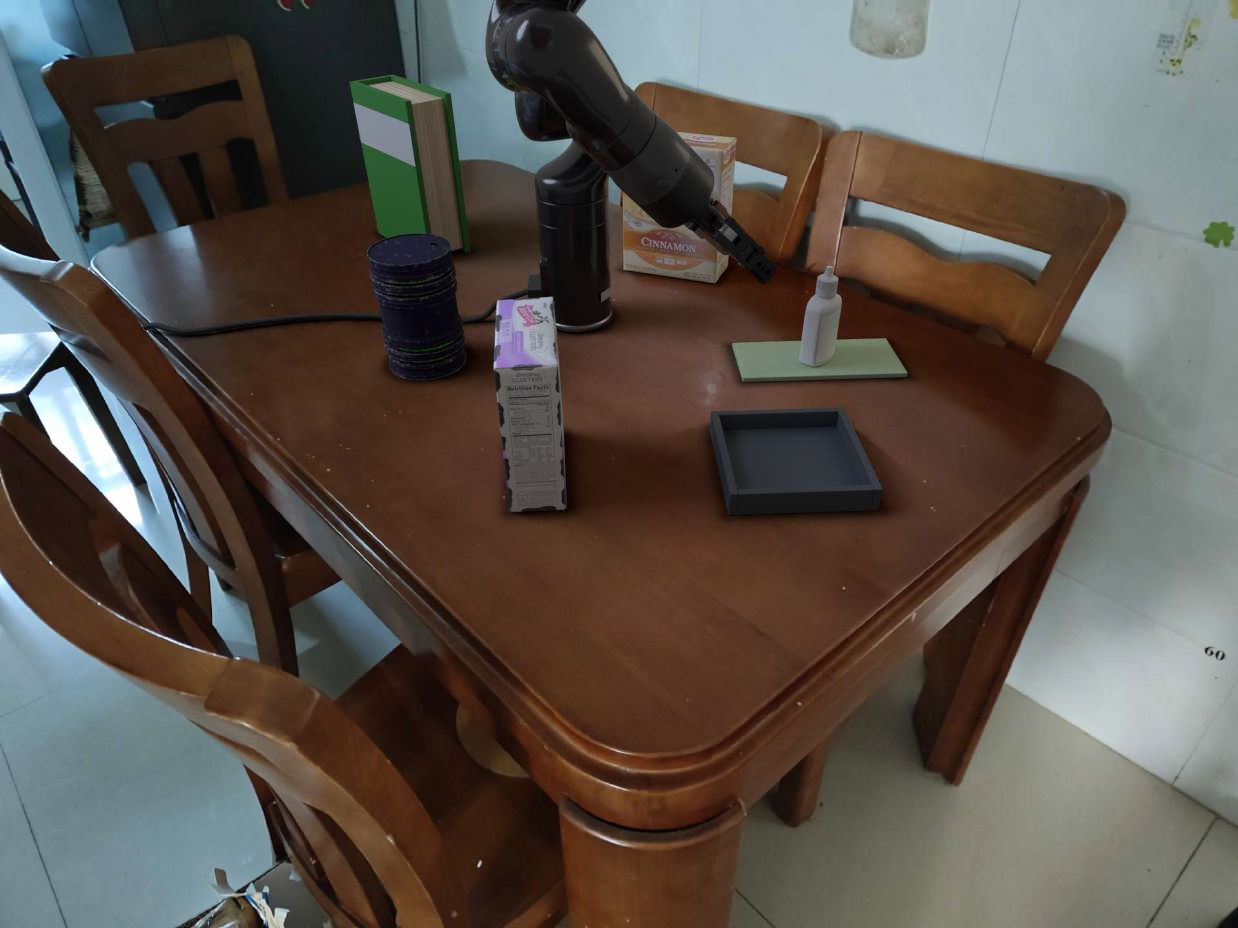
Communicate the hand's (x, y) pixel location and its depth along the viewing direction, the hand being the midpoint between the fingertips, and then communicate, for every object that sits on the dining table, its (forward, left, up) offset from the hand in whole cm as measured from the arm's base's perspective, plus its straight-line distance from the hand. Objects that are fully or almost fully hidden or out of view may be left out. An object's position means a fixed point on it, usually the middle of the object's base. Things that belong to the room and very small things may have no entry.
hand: (750, 262), depth 92 cm
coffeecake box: (-5, +34, -15) cm, 37 cm away
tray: (+2, -18, -15) cm, 24 cm away
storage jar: (-39, +7, -15) cm, 42 cm away
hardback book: (-46, +48, -15) cm, 68 cm away
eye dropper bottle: (+10, +3, -15) cm, 18 cm away
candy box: (-24, -17, -15) cm, 33 cm away
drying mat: (+10, +4, -15) cm, 18 cm away
